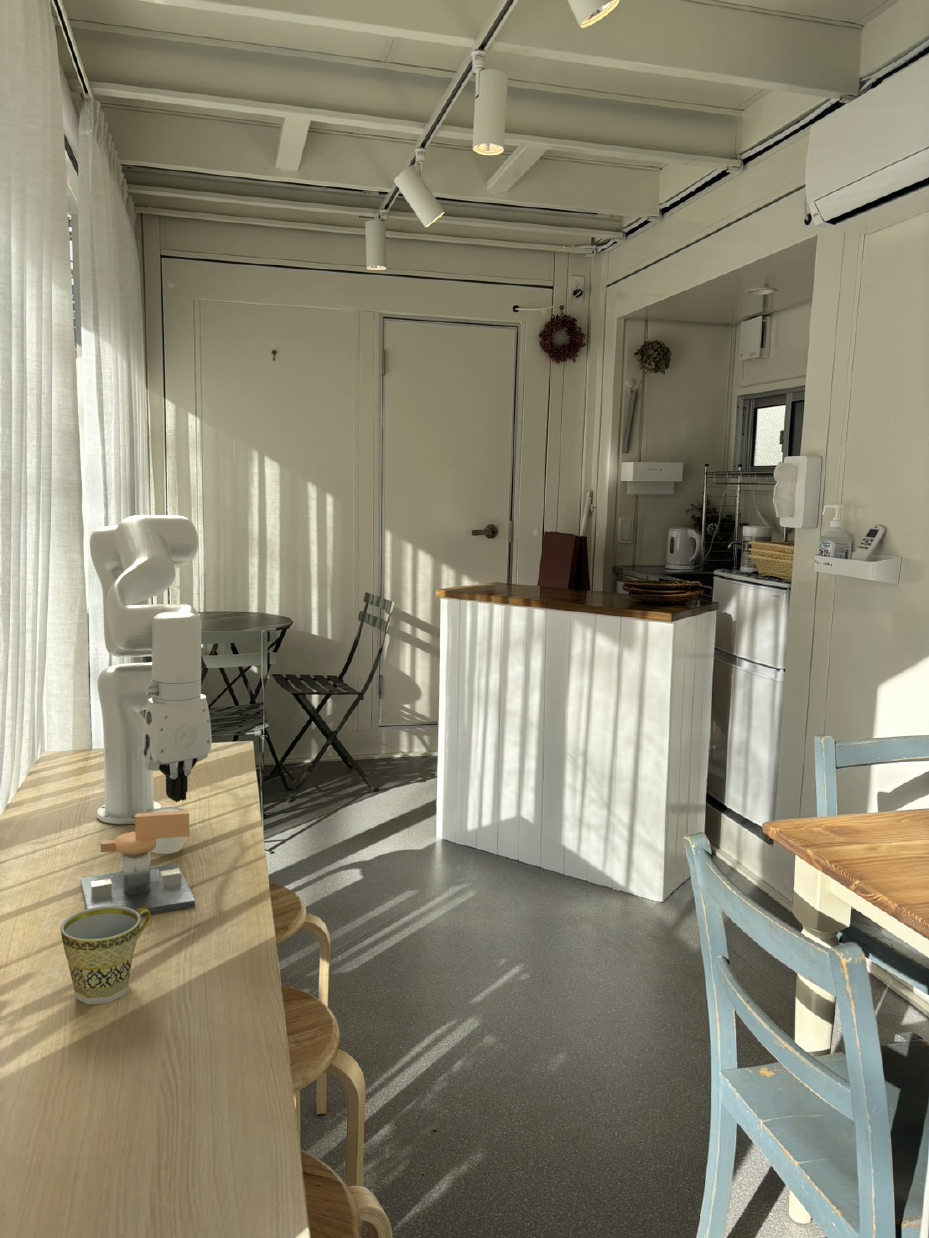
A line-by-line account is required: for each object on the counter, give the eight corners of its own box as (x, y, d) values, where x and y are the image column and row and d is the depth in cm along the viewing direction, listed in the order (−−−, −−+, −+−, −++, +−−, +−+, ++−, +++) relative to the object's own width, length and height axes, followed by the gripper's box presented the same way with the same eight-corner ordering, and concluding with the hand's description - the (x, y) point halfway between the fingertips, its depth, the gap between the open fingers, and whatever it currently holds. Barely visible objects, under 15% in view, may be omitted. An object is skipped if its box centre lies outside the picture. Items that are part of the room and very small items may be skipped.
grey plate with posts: (80, 884, 158) (79, 838, 157) (177, 870, 166) (177, 826, 164) (89, 924, 144) (88, 874, 143) (195, 907, 151) (194, 859, 150)
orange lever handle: (99, 858, 149) (98, 824, 148) (102, 843, 155) (102, 810, 154) (189, 851, 153) (189, 818, 152) (189, 837, 159) (189, 805, 158)
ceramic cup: (94, 1020, 119) (92, 947, 118) (46, 996, 124) (44, 925, 123) (174, 977, 130) (173, 910, 129) (127, 956, 135) (126, 891, 134)
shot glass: (174, 857, 171) (174, 820, 170) (140, 852, 173) (140, 816, 172) (192, 843, 178) (192, 808, 177) (159, 839, 179) (159, 804, 178)
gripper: (144, 701, 140) (145, 816, 143) (230, 687, 151) (229, 794, 154) (120, 691, 145) (122, 802, 148) (205, 678, 156) (204, 782, 159)
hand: (176, 798), depth 151 cm, fingers closed
